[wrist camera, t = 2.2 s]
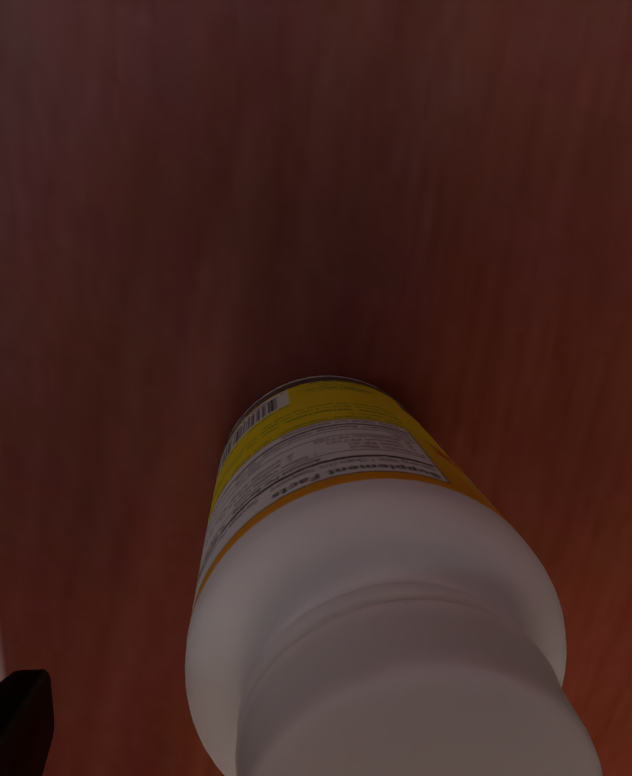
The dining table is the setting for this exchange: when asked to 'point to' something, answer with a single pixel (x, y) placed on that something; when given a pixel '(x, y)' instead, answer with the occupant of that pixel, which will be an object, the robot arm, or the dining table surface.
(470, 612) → the supplement bottle
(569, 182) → the dining table surface
